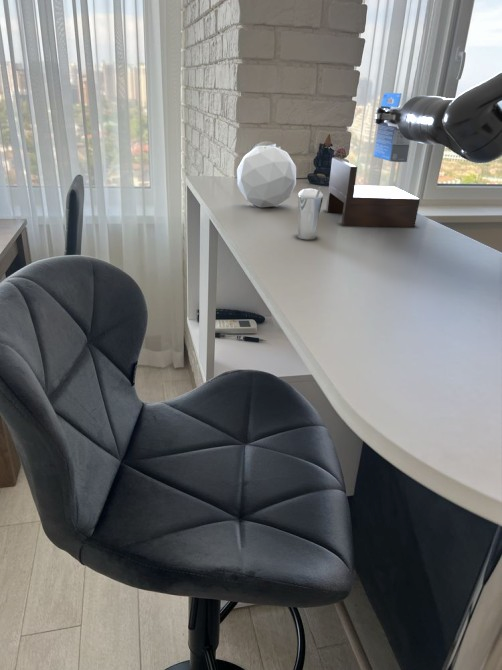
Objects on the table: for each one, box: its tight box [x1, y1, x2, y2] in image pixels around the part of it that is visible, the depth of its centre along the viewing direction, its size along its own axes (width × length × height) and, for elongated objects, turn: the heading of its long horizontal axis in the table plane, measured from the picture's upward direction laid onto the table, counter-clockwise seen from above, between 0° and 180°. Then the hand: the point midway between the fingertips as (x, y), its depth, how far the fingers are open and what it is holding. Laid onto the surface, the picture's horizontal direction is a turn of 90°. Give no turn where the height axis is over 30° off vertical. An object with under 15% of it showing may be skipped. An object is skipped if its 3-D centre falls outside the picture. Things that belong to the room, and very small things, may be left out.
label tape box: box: [373, 92, 411, 163], centre depth 101 cm, size 9×4×12 cm, turn 10°
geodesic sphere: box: [236, 143, 297, 208], centre depth 118 cm, size 15×14×14 cm
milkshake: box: [297, 186, 324, 241], centre depth 94 cm, size 4×5×10 cm
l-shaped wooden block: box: [325, 157, 421, 228], centre depth 111 cm, size 16×14×12 cm
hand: (391, 115), depth 103 cm, fingers open, 4 cm apart
